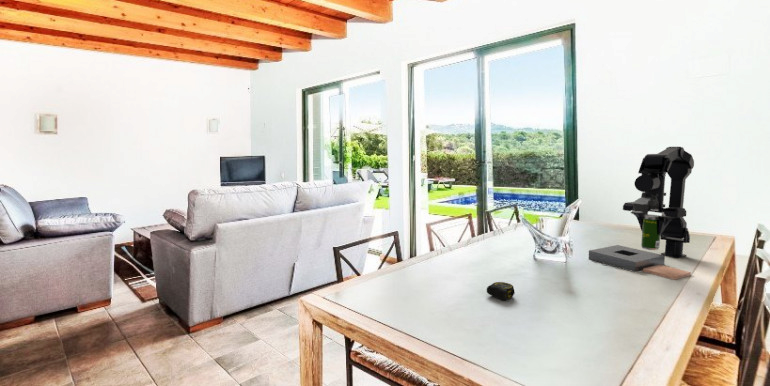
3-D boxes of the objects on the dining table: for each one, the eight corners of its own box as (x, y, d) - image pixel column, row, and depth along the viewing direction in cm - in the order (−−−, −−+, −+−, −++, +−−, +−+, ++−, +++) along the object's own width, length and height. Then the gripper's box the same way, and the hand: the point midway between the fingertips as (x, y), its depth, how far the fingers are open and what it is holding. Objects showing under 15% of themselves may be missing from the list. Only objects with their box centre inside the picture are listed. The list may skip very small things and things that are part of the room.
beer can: (661, 248, 140) (664, 215, 139) (655, 251, 137) (658, 217, 136) (644, 245, 145) (646, 213, 143) (638, 248, 142) (640, 215, 140)
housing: (617, 253, 162) (617, 245, 162) (664, 264, 146) (664, 255, 146) (588, 259, 154) (588, 250, 154) (635, 271, 138) (635, 262, 138)
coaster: (659, 267, 143) (659, 264, 143) (690, 274, 134) (690, 272, 134) (643, 271, 139) (643, 268, 139) (674, 279, 130) (674, 276, 130)
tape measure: (485, 296, 118) (485, 284, 117) (500, 291, 121) (500, 279, 121) (503, 303, 112) (504, 291, 112) (519, 298, 116) (519, 286, 115)
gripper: (614, 188, 144) (611, 230, 145) (669, 193, 127) (665, 241, 129) (633, 187, 148) (631, 227, 150) (689, 191, 131) (685, 237, 133)
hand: (651, 233), depth 140 cm, fingers closed on beer can, 5 cm apart
